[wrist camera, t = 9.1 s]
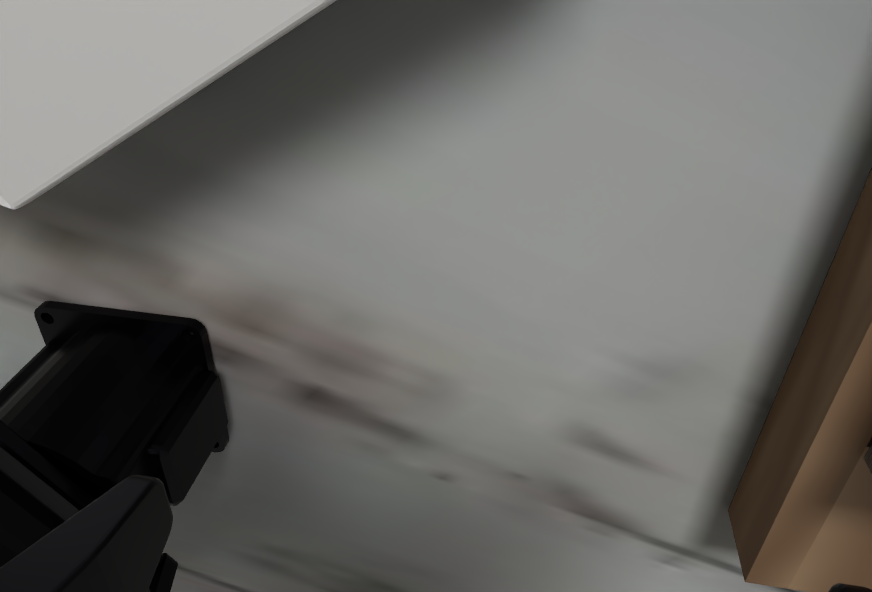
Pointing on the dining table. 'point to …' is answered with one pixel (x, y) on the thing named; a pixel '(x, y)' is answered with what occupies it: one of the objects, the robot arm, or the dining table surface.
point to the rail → (818, 441)
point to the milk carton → (112, 73)
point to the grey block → (869, 458)
